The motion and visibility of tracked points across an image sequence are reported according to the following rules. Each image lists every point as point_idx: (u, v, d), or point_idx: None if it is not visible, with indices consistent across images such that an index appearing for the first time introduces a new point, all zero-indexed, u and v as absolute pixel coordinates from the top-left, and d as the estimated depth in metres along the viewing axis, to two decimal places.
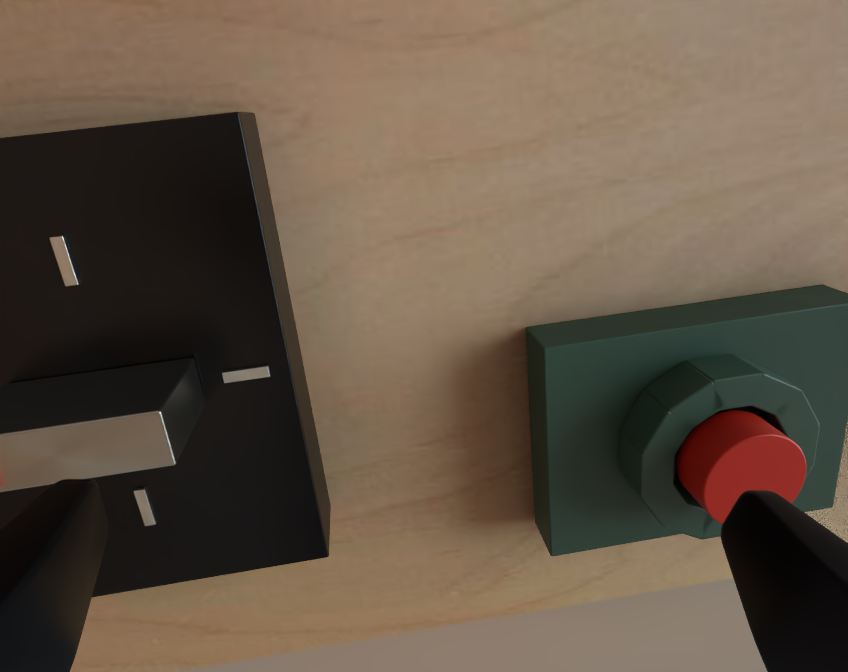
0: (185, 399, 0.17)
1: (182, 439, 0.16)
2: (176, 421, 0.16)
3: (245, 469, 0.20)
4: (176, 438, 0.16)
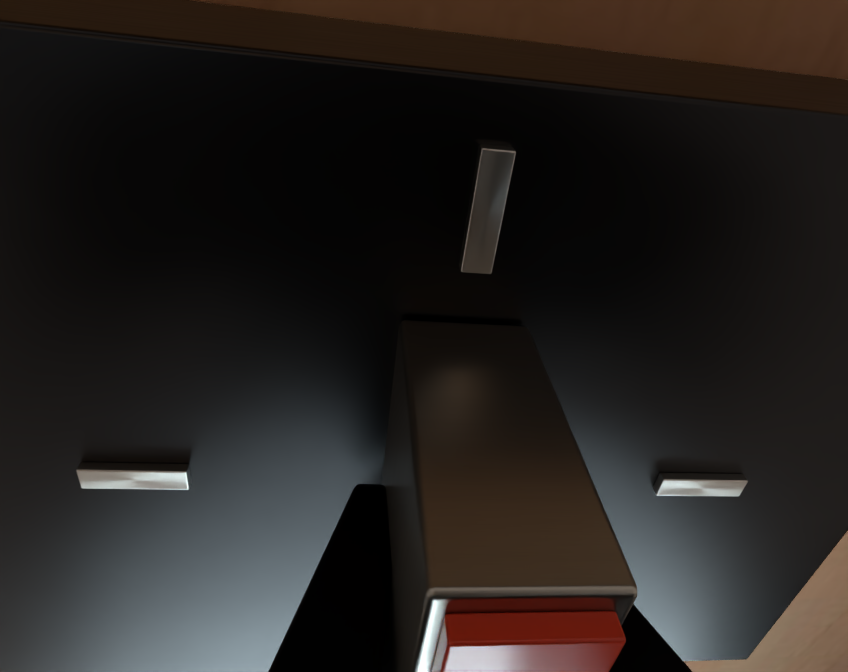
0: None
1: None
2: None
3: (213, 612, 0.10)
4: None
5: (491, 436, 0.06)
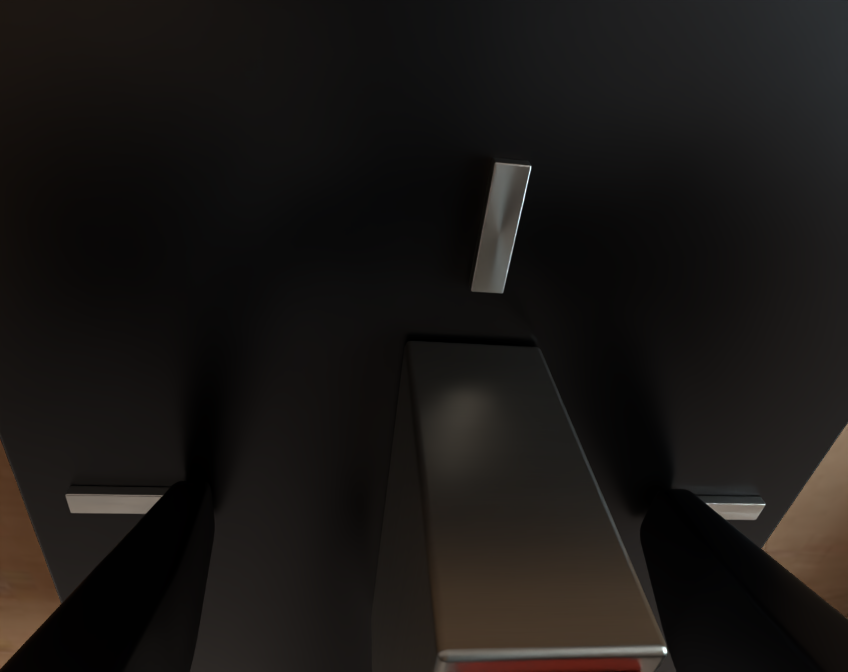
0: None
1: None
2: None
3: None
4: None
5: (505, 471, 0.05)
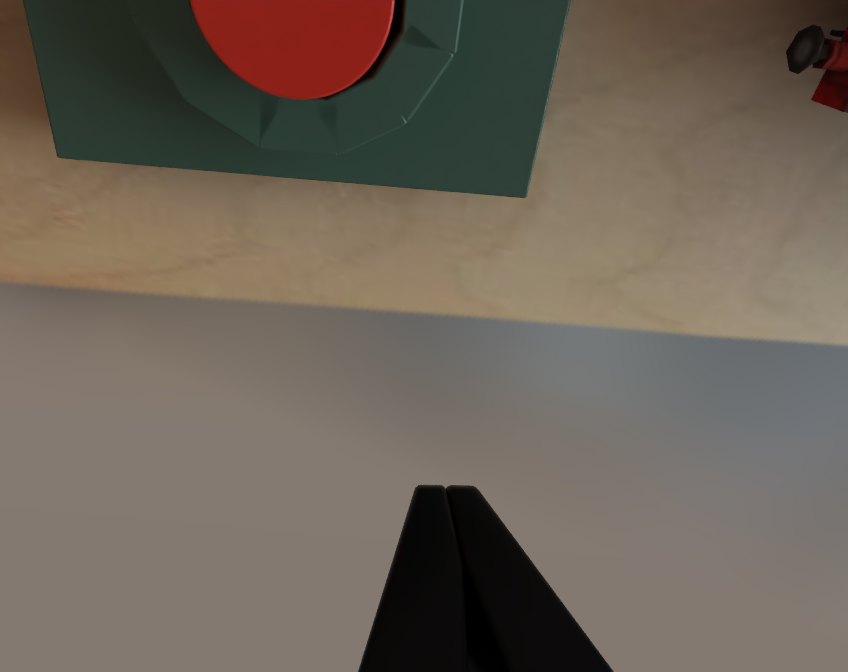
0: None
1: None
2: None
3: None
4: None
5: None
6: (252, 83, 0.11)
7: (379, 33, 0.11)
